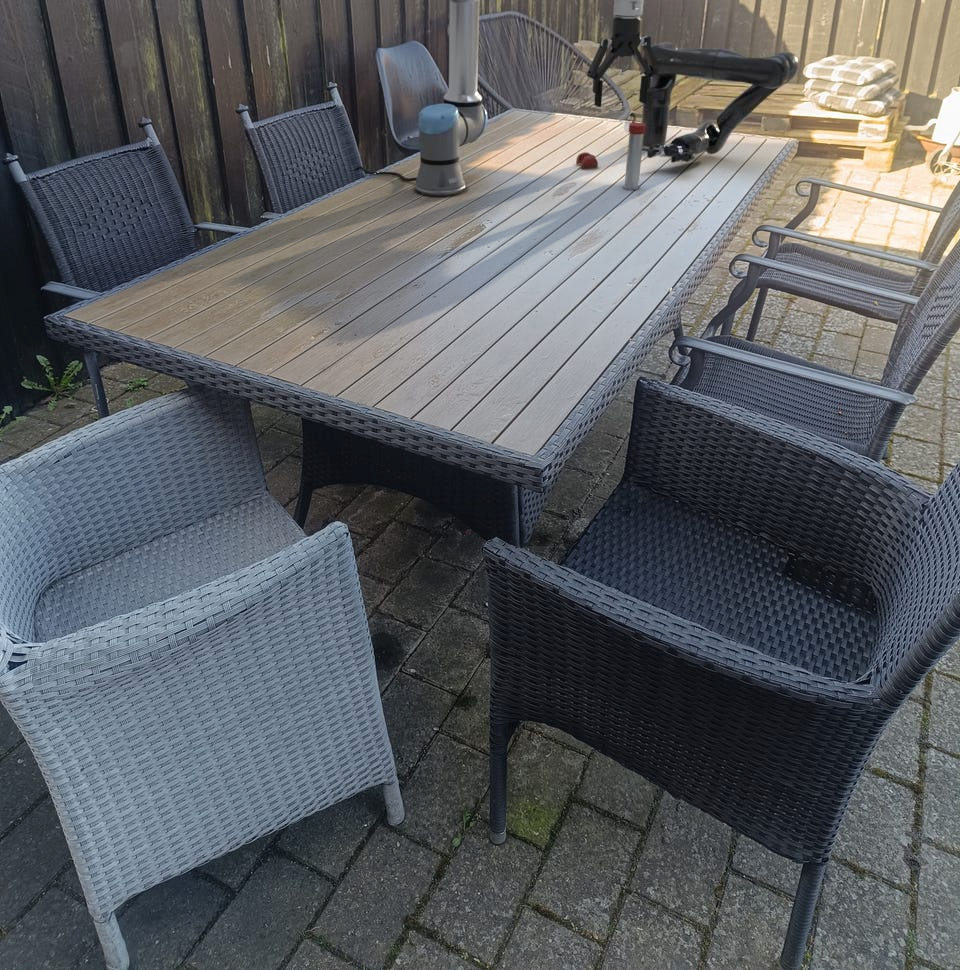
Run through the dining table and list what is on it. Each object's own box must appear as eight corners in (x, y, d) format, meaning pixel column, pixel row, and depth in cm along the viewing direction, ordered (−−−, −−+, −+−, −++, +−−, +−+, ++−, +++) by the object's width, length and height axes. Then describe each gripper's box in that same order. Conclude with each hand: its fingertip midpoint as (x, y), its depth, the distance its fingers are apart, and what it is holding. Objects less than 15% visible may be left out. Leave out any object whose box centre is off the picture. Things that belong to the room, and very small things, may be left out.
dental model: (591, 148, 281) (599, 155, 275) (590, 161, 283) (599, 168, 277) (575, 150, 280) (583, 157, 274) (574, 163, 282) (582, 170, 276)
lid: (629, 133, 249) (630, 126, 247) (627, 129, 253) (628, 122, 251) (645, 133, 249) (646, 126, 247) (643, 129, 252) (644, 122, 251)
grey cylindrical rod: (624, 189, 258) (631, 127, 248) (623, 185, 262) (629, 124, 251) (638, 189, 258) (645, 127, 248) (637, 185, 262) (643, 124, 251)
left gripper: (589, 20, 214) (584, 110, 226) (677, 16, 220) (667, 103, 232) (577, 17, 220) (573, 104, 232) (663, 12, 226) (654, 98, 238)
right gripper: (668, 131, 277) (642, 140, 267) (707, 138, 269) (682, 148, 259) (665, 155, 281) (639, 165, 271) (703, 162, 273) (678, 173, 263)
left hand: (620, 104), depth 232 cm, fingers open, 13 cm apart
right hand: (660, 156), depth 265 cm, fingers open, 8 cm apart
